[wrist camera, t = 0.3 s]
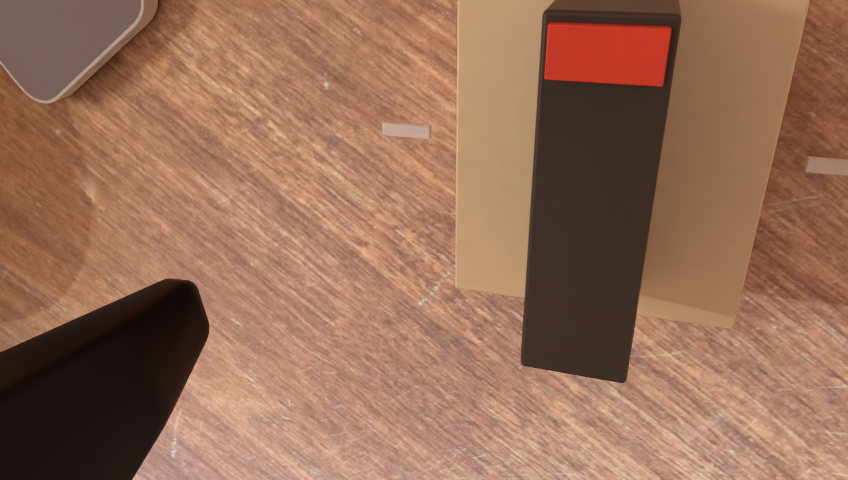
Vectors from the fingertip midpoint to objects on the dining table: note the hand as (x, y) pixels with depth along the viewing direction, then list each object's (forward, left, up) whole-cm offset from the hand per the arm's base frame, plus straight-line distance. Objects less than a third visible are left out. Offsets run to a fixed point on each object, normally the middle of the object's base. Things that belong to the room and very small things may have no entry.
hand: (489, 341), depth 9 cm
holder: (0, -1, -10) cm, 10 cm away
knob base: (0, -1, -13) cm, 13 cm away
